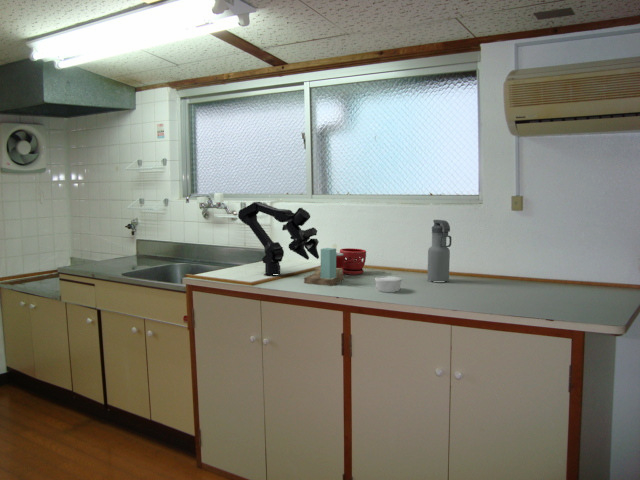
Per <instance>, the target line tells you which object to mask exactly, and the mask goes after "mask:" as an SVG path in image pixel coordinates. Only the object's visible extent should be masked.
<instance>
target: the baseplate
mask: <svg viewBox="0 0 640 480" xmlns="http://www.w3.org/2000/svg"><path fill="white" fill-rule="evenodd" d="M343 281H345V274H343V275H340V276H336V277H335V278H331V279H327V278H321V275H319V274H315V272H314V273H312V274H310V275H308V276H305V277H304V278H303V283H304V284H306V285H307V284H309V285H322V286H335V285H337V284H339V283H341V282H343Z"/></svg>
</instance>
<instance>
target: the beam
mask: <svg viewBox="0 0 640 480" xmlns="http://www.w3.org/2000/svg"><path fill="white" fill-rule="evenodd" d="M314 273H315V274H319V275H321V266H316V267H315V268H314ZM340 275H342V268H336V276H340Z"/></svg>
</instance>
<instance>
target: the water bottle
mask: <svg viewBox="0 0 640 480" xmlns="http://www.w3.org/2000/svg"><path fill="white" fill-rule="evenodd" d="M449 232H451V227H450V224H449V222H448V221H447V220H445V219H433V226H431V246H430V247H428V249H427V278H426V279H427V281H428V280H430V281H448V280H449V281H450V255H451V253H450V249H449V248H450V247H451V246H452V236H451V235H449ZM447 238H448V239H449V244H448V245H447ZM430 281H429V282H430ZM449 281H448V282H449Z"/></svg>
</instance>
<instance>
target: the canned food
mask: <svg viewBox="0 0 640 480" xmlns="http://www.w3.org/2000/svg"><path fill="white" fill-rule="evenodd" d="M336 268H342V275H344V274H343V273H344V255H343V253H340V252H336Z"/></svg>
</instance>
